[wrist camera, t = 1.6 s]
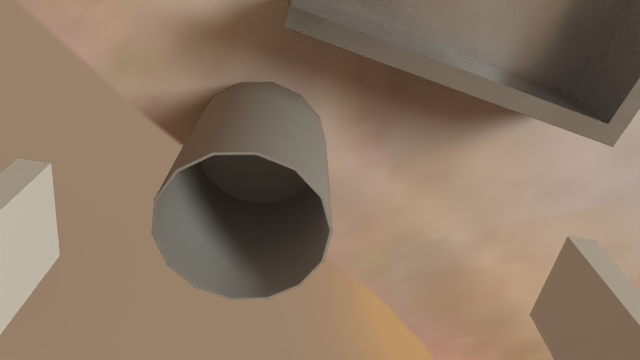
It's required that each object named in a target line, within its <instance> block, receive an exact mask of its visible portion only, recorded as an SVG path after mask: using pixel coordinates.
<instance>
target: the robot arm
mask: <svg viewBox="0 0 640 360" xmlns="http://www.w3.org/2000/svg"><path fill="white" fill-rule="evenodd" d="M59 256H60V252H59V241H58V231H57V219H56V208H55V198H54V187H53V176H52V165H51V163H48V162H41V161H33V160H27V159H20V158H18V159H17V160H15V161H14V162H13V163H12V164H10V165H9V166H8V167H7V168H5V169H4V170H3V171H2V172H0V334H1V333H2V331H3V330H4V329H5V327H6V326H7V325H8V324H9V322H10V321H11V320H12V318H13V317H14V316H15V314H16V313H17V312H18V310H19V309H20V307H21V306H22V305H23V304H24V302H25V301H26V300H27V298H28V297H29V296H30V294H31V293H32V292H33V290H34V289H35V288H36V286H37V285H38V284H39V282H40V281H41V280H42V278H43V277H44V276H45V275H46V273H47V272H48V270H49V269H50V268H51V267H52V265H53V264H54V263H55V261H56V260H57V259H58V257H59ZM530 316H531V318H532V320H533V321H534V323H535V325H536V327H537V329H538V331H539V332H540V334H541V336H542V338H543V340H544V341H545V343H546V345H547V347H548V349H549V351H550V352H551V354H552V356H553V358H554V360H640V290H639V289H638V288H637V287H636V286H635V285H634V284H633V282H632V281H631V280H630V279H629V278H628V277H627V276H626V274H625V273H624V272H623V271H622V270H621V269H620V268H619V267H618V265H617V264H616V263H615V262H614V261H613V260H612V259H611V257H610V256H609V255H608V254H607V253H606V252H605V251H604V249H603V248H602V247H601V246H600V245H599V244H598V243H597V242H596V240H591V239H584V238H577V237H570V236H568V237H567V239H566V241H565V243H564V245H563V247H562V249H561V251H560V253H559V255H558V258H557V260H556V262H555V264H554V266H553V268H552V270H551V272H550V274H549V276H548V278H547V280H546V282H545V284H544V286H543V288H542V290H541V292H540V294H539V297H538V299H537V301H536V303H535V305H534V307H533V309H532V311H531V313H530Z"/></svg>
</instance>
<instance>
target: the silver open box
mask: <svg viewBox="0 0 640 360" xmlns="http://www.w3.org/2000/svg"><path fill="white" fill-rule="evenodd" d="M284 27H285V28H288V29H291V30H293V31H296V32H299V33H302V34H304V35H307V36H310V37H313V38H315V39H318V40H321V41H324V42H326V43H329V44H332V45H335V46H337V47H340V48H343V49H345V50H348V51H351V52H354V53H356V54H359V55H362V56H365V57H367V58H370V59H373V60H376V61H378V62H381V63H384V64H387V65H389V66H392V67H395V68H398V69H400V70H403V71H406V72H409V73H411V74H414V75H417V76H420V77H422V78H425V79H428V80H430V81H433V82H436V83H439V84H441V85H444V86H447V87H450V88H452V89H455V90H458V91H461V92H463V93H466V94H469V95H472V96H474V97H477V98H480V99H483V100H485V101H488V102H491V103H494V104H496V105H499V106H502V107H505V108H507V109H510V110H513V111H515V112H518V113H521V114H524V115H526V116H529V117H532V118H535V119H537V120H540V121H543V122H546V123H548V124H551V125H554V126H557V127H559V128H562V129H565V130H568V131H570V132H573V133H576V134H579V135H581V136H584V137H587V138H590V139H592V140H595V141H598V142H600V143H603V144H606V145H609V146H611V147H613V146H614V144H615V143H616V142H617V140H618V139H619V137H620V136H621V135H622V133H623V132H624V130H625V129H626V127H627V126H628V125H629V123H630V122H631V120H632V119H633V117H634V116H635V115H636V113H637V112H638V110H639V109H640V0H290V3H289V6H288V10H287V15H286V19H285V23H284Z"/></svg>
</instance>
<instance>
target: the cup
mask: <svg viewBox="0 0 640 360" xmlns="http://www.w3.org/2000/svg"><path fill="white" fill-rule="evenodd" d="M332 231H333V229H332V215H331V202H330V188H329V174H328V160H327V146H326V140H325V136H324V132H323V128H322V124H321V120H320V117H319V116H318V114H317V113H316V112H315V111H314V110H313V109H312V108H311V106H310V105H309V104H308V103H307V102H306V101H305V99H304V98H303V97H302V96H301V95H300V94H298V93H295V92H293V91H291V90H289V89H286V88H284V87H282V86H280V85H277V84H275V83H273V82H242V83H239V84H237V85H235V86H233V87H231V88H229V89H227V90H225V91H223V92H221V93H219V94H217V95H215V96H214V97H213V99H212V100H211V102H210V103H209V104H208V106H207V107H206V109H205V110H204V111H203V113H202V114H201V116H200V117H199V118H198V120H197V122H196V124H195V126H194V128H193V129H192V131H191V133H190V135H189V137H188V139H187V140H186V142H185V144H184V146H183V148H182V150H181V151H180V153H179V155H178V157H177V159H176V161H175V163H174V164H173V166H172V168H171V170H170V172H169V173H168V175H167V177H166V179H165V181H164V183H163V184H162V186H161V188H160V190H159V192H158V194H157V195H156V197H155V199H154V209H153V223H152V235H153V237H154V239H155V241H156V243H157V245H158V247H159V250H160V252H161V253H162V256H163V258H164V260H165V262H166V264H167V265H168V266H169V267H170V268H171V269H173V270H174V271H175V272H176V273H178V274H179V275H180V276H181V277H182V278H184V279H185V280H186V281H187V282H189V283H190V284H191V285H192V286H193V287H194V288H197V289H200V290H203V291H206V292H209V293H212V294H215V295H218V296H221V297H224V298H227V299H230V300H244V299H269V298H272V297H274V296H276V295H279V294H282V293H284V292H286V291H289V290H292V289H294V288H297V287H299V286H301V285H302V284H303V283H304V282H305V281H306V280H307V279H308V278H309V277H310V276H311V275H312V274H313V273H314V272H315V271H316V269H317V268H319V266H320V265H321V264H322V263H323V262H324V260H325V256H326V252H327V249H328V245H329V242H330V238H331V235H332Z"/></svg>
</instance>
